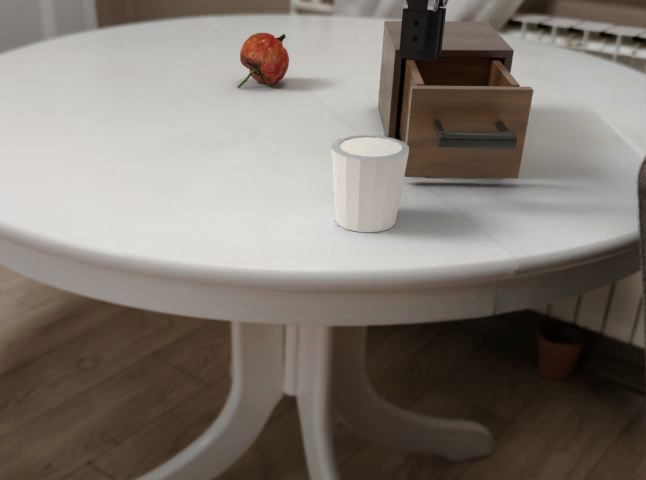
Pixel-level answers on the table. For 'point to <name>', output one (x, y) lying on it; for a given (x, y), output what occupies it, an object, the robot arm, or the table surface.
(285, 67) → the pomegranate
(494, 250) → the table surface
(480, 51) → the cabinet
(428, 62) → the drawer
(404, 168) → the white cup
